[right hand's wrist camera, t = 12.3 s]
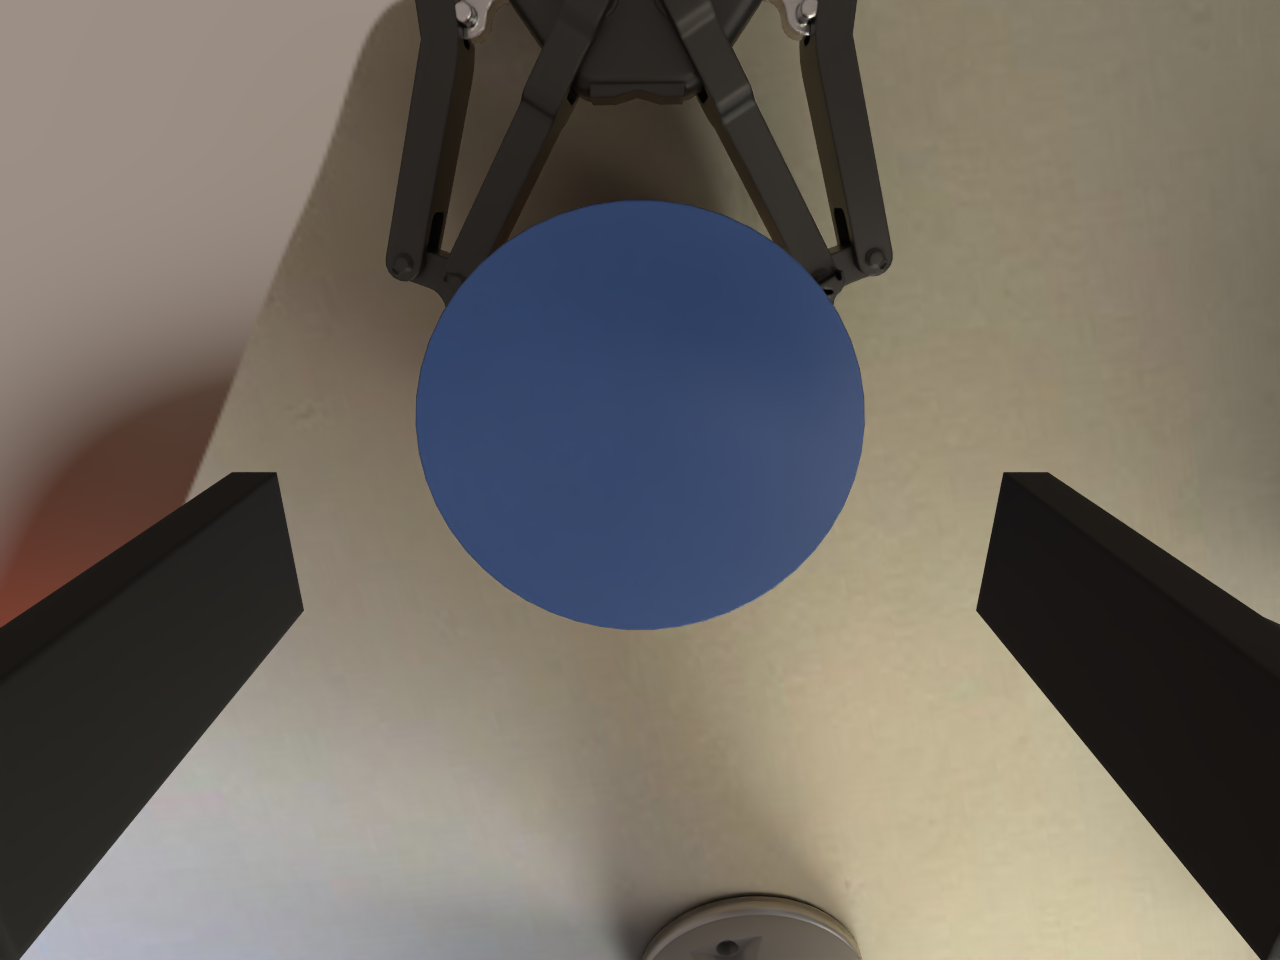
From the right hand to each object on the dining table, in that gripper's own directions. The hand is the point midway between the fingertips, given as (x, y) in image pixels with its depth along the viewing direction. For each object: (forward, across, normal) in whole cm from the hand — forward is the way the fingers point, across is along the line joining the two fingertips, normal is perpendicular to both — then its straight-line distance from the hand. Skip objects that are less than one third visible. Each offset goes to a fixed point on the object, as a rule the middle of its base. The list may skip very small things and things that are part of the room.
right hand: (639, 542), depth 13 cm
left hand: (+16, 0, -4) cm, 16 cm away
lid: (+6, 0, 0) cm, 6 cm away
